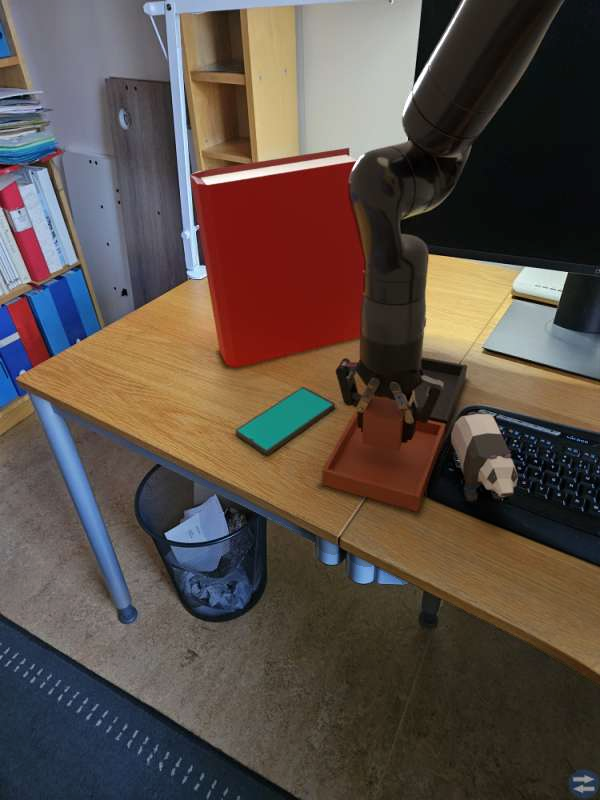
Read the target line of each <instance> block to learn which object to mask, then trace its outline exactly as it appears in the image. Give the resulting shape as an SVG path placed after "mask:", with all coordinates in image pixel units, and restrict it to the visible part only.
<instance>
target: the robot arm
mask: <svg viewBox="0 0 600 800" xmlns="http://www.w3.org/2000/svg"><path fill="white" fill-rule="evenodd" d="M564 1H565V0H461V1H460V2H459V3H458V5H457V7H456V9H455V12H454V13H453V15H452V17H451V19H450V21H449V23H448V24H447V26H446V27H445V29H444V31H443V33H442V35H441V37H440V39H439V41H438V42H437V44H436V46H435V47H434V49H433V51H432V52H431V54H430V55H429V58H428V59H427V61H426V63H425V65H424V67H423V68H422V70H421V72H420V74H419V76H418V77H417V79H416V81H415V83H414V84H413V87H412V88H411V90H410V92H409V94H408V96H407V98H406V100H405V103H404V105H403V108H402V112H401V113H402V114H401V124H402V129H403V132H404V133H405V136H406V137H407V139H408V141H404V142H400V143H395V144H392V145H388V146H383V147H378V148H375V149H372V150H369V151H365V152H364V153H363V154H361V155H360V156H359V158H357V159H356V160H357V161H356V163H355V164H354V166H353V168H352V171H351V174H350V177H349V182H348V198H349V203H350V208H351V211H352V215H353V218H354V222H355V226H356V229H357V234H358V238H359V242H360V246H361V250H362V254H363V259H364V265H363V296H362V301H361V309H360V337H359V360H358V361H351V360H350V359H349V358H347V357H346V358H345V357H344V358H343V359H342V360H341V362H340V363H339V364H338V365H337V368H336V369H335V374H336V375H335V376H336V378H337V382H338V386H339V389H340V393H341V397H342V400H343V403H344V405H345V406H347V407H351V406H352V407H354V408H356V410H357V411H358V418H357V421H358V422H357V425H358V427H359V428H361V432H362V433H363V414H364V412H365V410H366V409H367V407H368V405H369V403H370V401H371V399H372V397H373V395H374V396H377V397H387V398H389V399H391V400H396V402H397V405H398V408H399V410H401V411H402V414H403V417H404V422H403V430H402V442H403V443H407V441H408V440H412V438H413V436H414V433H415V429H416V421H420V422H421V423H427V422H428V420H429V418H430V416H431V413H432V411H433V409H434V407H435V404H436V402H437V400H438V398H439V396H440V393H441V391H442V388H443V386H444V383H445V380H444V378H442V377H437V378H436V379H433V378H430V377H428V376H425V375H424V372H423V370H422V367H421V358H422V357H423V348H424V347H423V346H424V336H425V328H426V326H427V325H426V324H427V317H426V316H427V301H426V299H427V298H426V291H427V283H428V282H427V281H428V270H429V258H430V257H429V248H428V246H427V244H426V242H425V241H424V240H423V239H422V238H421V237H419V236H416V235H414V234H410V233H405V232H404V233H403V232H402V231H401V222H402V220H405V219H408V218H410V217H414V216H418V215H421V214H423V213H427V212H429V211H432V210H433V209H435V208H436V207H438V206H439V205H440V204H442V203H443V202H444V201H445V200H446V199H447V198H448V197H449V195H451V193H452V192H453V190H454V189H455V187H456V185H457V183H458V181H459V179H460V177H461V175H462V172H463V170H464V167H465V165H466V163H467V162H468V158H469V157H470V156H469V155H470V153H471V150H472V147H473V145H474V143H475V141H476V139H477V138H478V137H479V136H480V135H481V133H482V132H483V131H484V130H485V128H486V127H487V126H488V124H489V123H490V122H491V120H492V119H493V118H494V116H495V115H496V114H497V112H498V111H499V110H500V108H501V107H502V106H503V104H504V103H505V102H506V100H507V99H508V98H509V95H510V94H511V93H512V91H513V90H514V89H515V87H516V86H517V84H518V83H519V81H520V80H521V78H522V76H523V75H524V73H526V70H527V69H528V67H529V66H530V63H531V62H532V60H533V58H534V56H535V55H536V53H537V51H538V49H539V47H540V45H541V43H542V41H543V39H544V37H545V35H546V33H547V31H548V29H549V27H550V25H551V24H552V22H553V20H554V18H555V17H556V15H557V13H558V11H559V9H560V8H561V6H562V5H563V3H564ZM356 375H358V377H359V378H360V379H361V381H362V382H363V383H364V385H365V386H366V388H365V390H364V392H363V393H361V394H360V393H359V389H358V386H357V381H356V379H355V377H356ZM419 385H422V386H423V388H424V391H423V392H424V394H425V396H426V397H428V398H427V400H426V402H425V404H424V407H418V406H417V403H416V400H415V392H414V389H415V388H417V387H418V386H419Z"/></svg>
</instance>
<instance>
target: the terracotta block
mask: <svg viewBox="0 0 600 800" xmlns="http://www.w3.org/2000/svg"><path fill="white" fill-rule="evenodd" d="M403 422H404V417H403V414H402V411H401V410H399V408H398V405H397V402H396V400H391V399H389V398H387V397H377V396H373V398H372V399H371V401H370V403H369V405H368V407H367V409H366V410H365V412H364V414H363V442H362V443H365V444H369V445H373V446H377V447H381V448H385V449H389V450H393V451H397V452H399V449H400V447H401V445H402V430H403Z"/></svg>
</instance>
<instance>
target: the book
mask: <svg viewBox="0 0 600 800" xmlns="http://www.w3.org/2000/svg"><path fill="white" fill-rule="evenodd" d="M357 160H358V159H355V158H354V157H352V156H350V147H346V148H338V149H331V150H325V151H321V152H313V153H307V154H301V155H293V156H286V157H281V158H274V159H267V160H261V161H255V162H249V163H241V164H236V165H230V166H223V167H215V168H210V169H209V168H208V169H204V170H197V171H195V172H193V173H190V174H189V177H190V183H191V184H190V185H191V189H192V196H193V200H194V207H195V212H196V213H195V214H196V219H197V224H198V230H199V236H200V243H201V249H202V254H203V259H204V266H205V272H206V278H207V285H208V290H209V295H210V301H211V307H212V313H213V319H214V326H215V331H216V337H217V342H218V349H219V352H220V354H221V356H222V359H223V361H224V363H225V365H226V366H227V367H231V368H241V367H244V366H249V365H253V364H257V363H261V362H265V361H270V360H273V359H277V358H281V357H285V356H289V355H294V354H297V353H301V352H305V351H310V350H314V349H317V348H321V347H325V346H330V345H335V344H337V343H342V342H346V341H351V340H354V339H360V309H361V301H362V296H363V265H364V259H363V254H362V250H361V246H360V242H359V238H358V234H357V229H356V226H355V222H354V218H353V215H352V211H351V208H350V203H349V198H348V182H349V177H350V174H351V171H352V168H353V166H354V164H355V163H356V161H357Z"/></svg>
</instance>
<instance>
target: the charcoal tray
mask: <svg viewBox="0 0 600 800" xmlns="http://www.w3.org/2000/svg"><path fill="white" fill-rule="evenodd" d="M421 367H422V370H423V372H424V375H425V376H428V377H430V378H433V379H436V378H437V377H442V378H444V380H445V383H444V386H443V388H442V391H441V393H440V396H439V398H438V400H437V402H436V404H435V407H434V409H433V411H432V413H431V416H430V418H429V420H430V421H435V422H439V423H444V424H446V427H445V434H444V436H445V435H446V434H447V431H448V428H449V426H450V423H451V420H452V417H453V415H454V412H455V409H456V406H457V403H458V401H459V398H460V395H461V393H462V389H463V387H464V384H465V381H466V378H467V371H468V365H467V364H461V363H456V362H451V361H445V360H439V359H435V358H429V357H424V356H422V358H421ZM423 391H424V388H423V386H422V385H419V386H418V387H417V388H415V389H414V392H415V400H416V403H417V406H418V407H424V404H425V402H426V400H427V398H428V397H426V396H425V394H424V392H423ZM373 396H374V395H373ZM372 398H373V397H372Z"/></svg>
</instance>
